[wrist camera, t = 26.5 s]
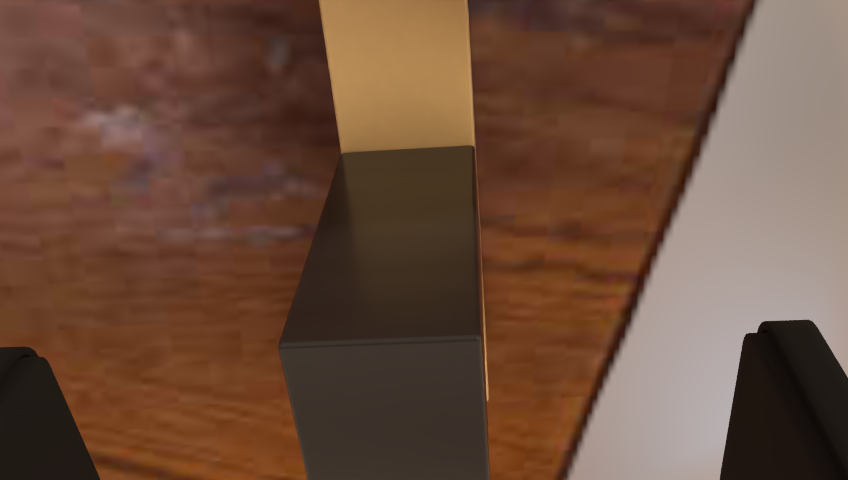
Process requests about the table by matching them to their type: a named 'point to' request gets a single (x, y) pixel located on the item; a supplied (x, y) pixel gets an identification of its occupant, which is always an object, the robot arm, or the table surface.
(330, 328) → the brush
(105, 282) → the table surface
